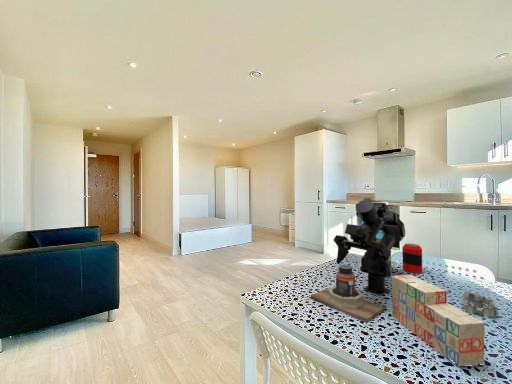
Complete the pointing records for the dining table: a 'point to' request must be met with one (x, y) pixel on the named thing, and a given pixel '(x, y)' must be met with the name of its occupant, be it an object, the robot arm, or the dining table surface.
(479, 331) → the stack of blocks
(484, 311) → the egg carton
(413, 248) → the soda can
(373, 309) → the collar board
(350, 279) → the supplement bottle
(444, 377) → the dining table surface
